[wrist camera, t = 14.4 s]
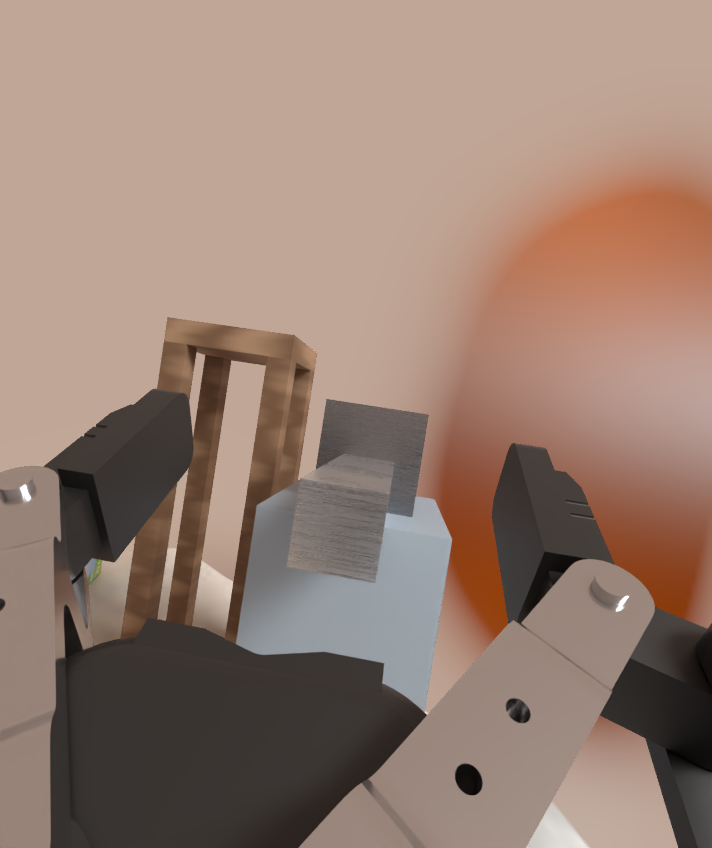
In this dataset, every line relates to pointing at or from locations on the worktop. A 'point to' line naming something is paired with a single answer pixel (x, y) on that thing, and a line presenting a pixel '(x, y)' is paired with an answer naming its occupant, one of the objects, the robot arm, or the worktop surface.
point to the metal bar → (356, 488)
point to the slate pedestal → (350, 596)
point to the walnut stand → (269, 467)
